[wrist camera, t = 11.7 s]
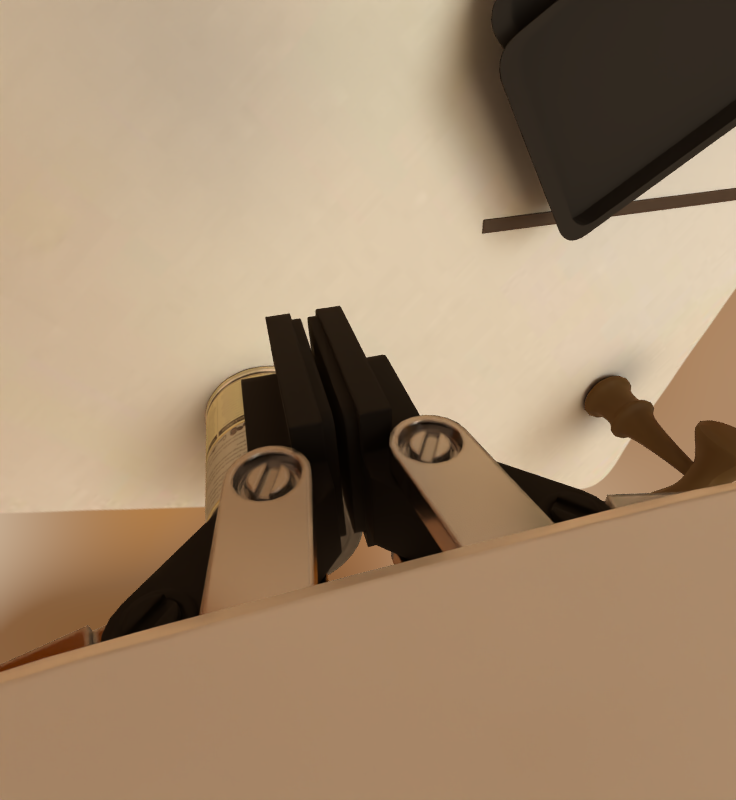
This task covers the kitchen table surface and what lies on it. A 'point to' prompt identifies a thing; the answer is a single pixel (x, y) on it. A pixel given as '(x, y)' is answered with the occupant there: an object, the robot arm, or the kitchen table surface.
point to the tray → (615, 94)
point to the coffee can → (242, 448)
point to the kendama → (666, 436)
